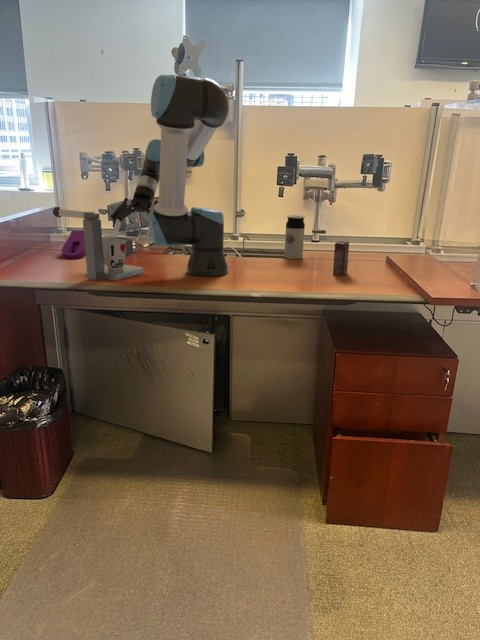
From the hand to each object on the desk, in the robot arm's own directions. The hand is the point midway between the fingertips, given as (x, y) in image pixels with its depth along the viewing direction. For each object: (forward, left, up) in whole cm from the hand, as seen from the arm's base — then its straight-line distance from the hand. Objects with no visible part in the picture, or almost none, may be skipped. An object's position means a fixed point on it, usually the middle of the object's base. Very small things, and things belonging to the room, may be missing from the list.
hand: (130, 237), depth 172 cm
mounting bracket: (+35, -5, -12) cm, 37 cm away
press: (-2, +13, -12) cm, 18 cm away
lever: (+5, +20, +8) cm, 22 cm away
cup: (-2, +11, -10) cm, 15 cm away
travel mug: (-42, -56, -12) cm, 71 cm away
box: (-69, -38, -12) cm, 80 cm away
